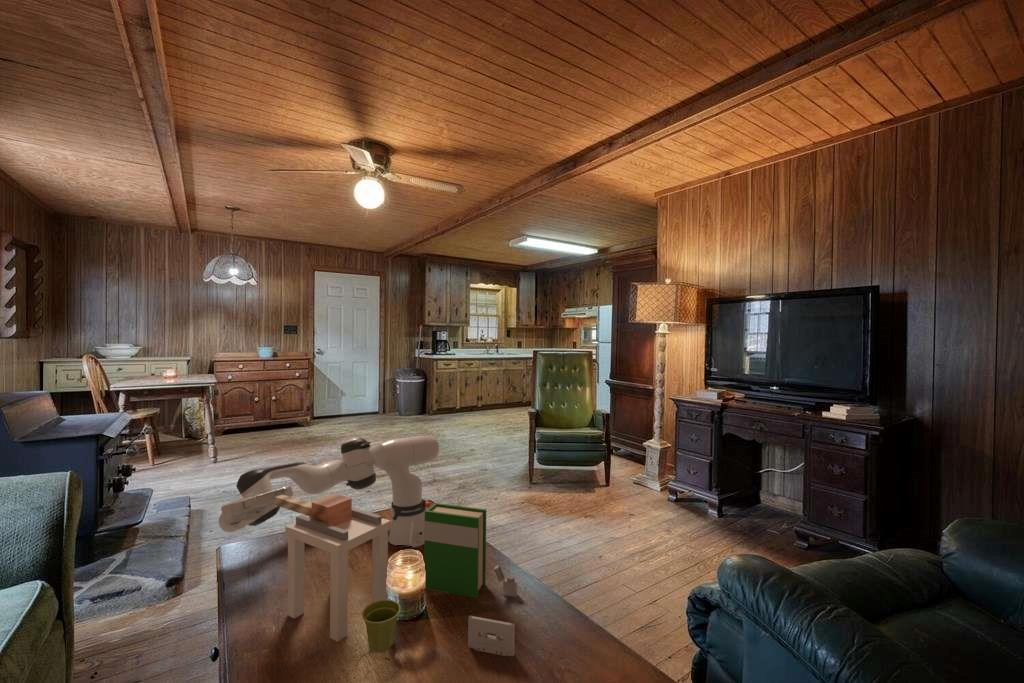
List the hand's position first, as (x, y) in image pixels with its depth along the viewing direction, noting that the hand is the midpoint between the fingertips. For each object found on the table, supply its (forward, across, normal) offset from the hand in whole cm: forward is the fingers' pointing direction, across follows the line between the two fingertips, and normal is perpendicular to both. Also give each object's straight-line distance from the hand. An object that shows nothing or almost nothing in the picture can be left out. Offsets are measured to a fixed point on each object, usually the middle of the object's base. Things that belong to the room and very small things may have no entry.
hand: (272, 493), depth 141 cm
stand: (+14, 0, -40) cm, 42 cm away
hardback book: (+31, -27, -50) cm, 65 cm away
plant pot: (+31, +3, -50) cm, 59 cm away
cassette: (+53, -9, -63) cm, 83 cm away
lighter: (+45, -32, -58) cm, 80 cm away
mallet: (+14, 0, -11) cm, 18 cm away
